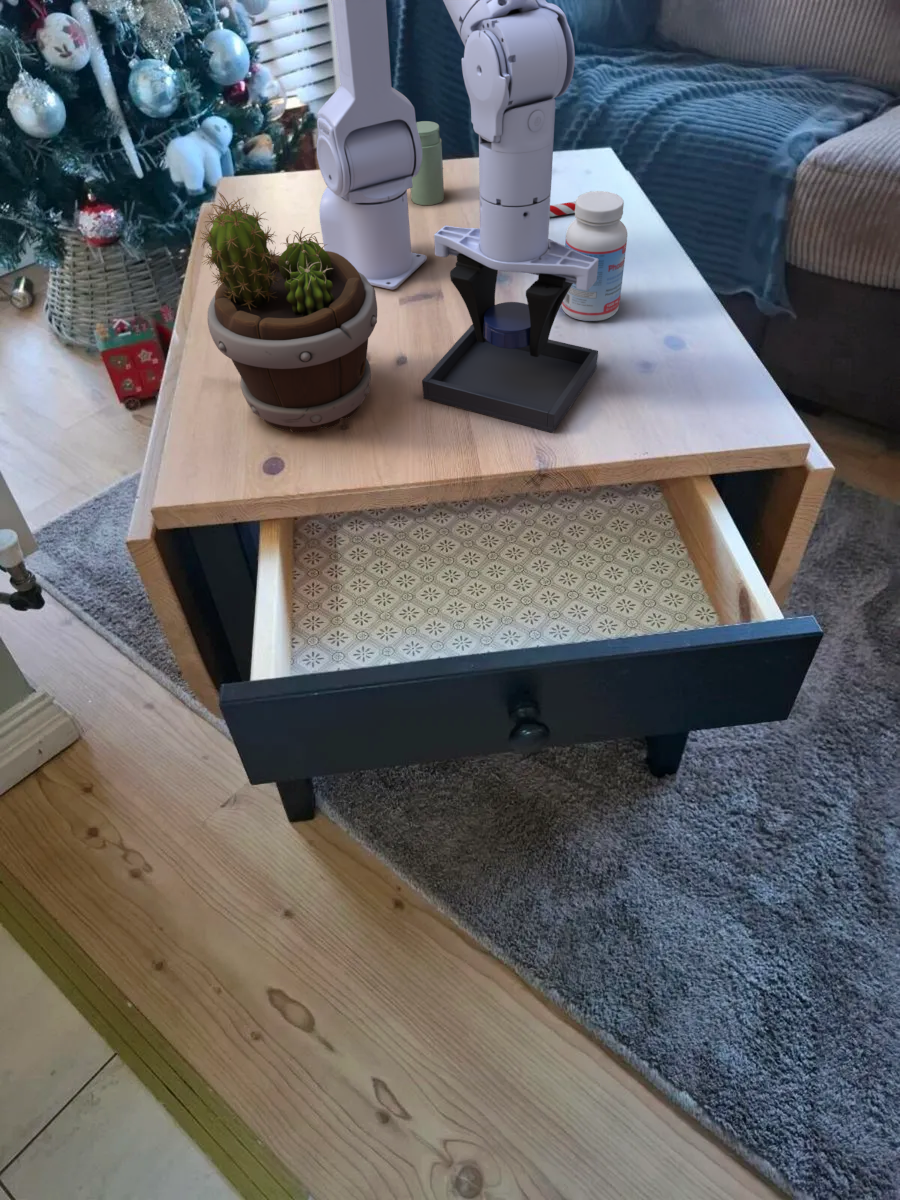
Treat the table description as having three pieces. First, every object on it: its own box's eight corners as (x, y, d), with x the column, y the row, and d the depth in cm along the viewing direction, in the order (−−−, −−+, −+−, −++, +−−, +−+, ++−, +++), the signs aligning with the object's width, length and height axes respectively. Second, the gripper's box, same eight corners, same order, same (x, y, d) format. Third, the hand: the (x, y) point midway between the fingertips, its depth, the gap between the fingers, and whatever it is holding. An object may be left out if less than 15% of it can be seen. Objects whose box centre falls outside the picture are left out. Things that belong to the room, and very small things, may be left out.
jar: (405, 202, 108) (400, 130, 102) (420, 189, 111) (415, 118, 104) (435, 207, 107) (431, 134, 101) (449, 194, 110) (446, 122, 103)
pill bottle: (616, 325, 86) (630, 216, 78) (557, 321, 87) (564, 212, 79) (620, 296, 90) (633, 189, 82) (564, 292, 91) (571, 186, 83)
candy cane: (613, 206, 102) (490, 210, 103) (612, 217, 103) (490, 221, 104) (606, 180, 107) (489, 184, 108) (605, 190, 108) (489, 194, 109)
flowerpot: (379, 350, 85) (356, 138, 70) (394, 442, 75) (370, 216, 60) (235, 366, 84) (180, 154, 69) (230, 461, 74) (164, 237, 59)
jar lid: (500, 354, 74) (500, 336, 73) (474, 328, 77) (473, 310, 76) (549, 339, 75) (550, 321, 74) (521, 314, 78) (522, 296, 77)
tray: (423, 398, 79) (421, 380, 78) (474, 339, 86) (474, 322, 84) (553, 433, 75) (554, 414, 73) (596, 368, 81) (598, 350, 80)
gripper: (619, 188, 67) (602, 341, 77) (460, 159, 72) (464, 306, 82) (583, 224, 63) (570, 380, 73) (417, 190, 68) (427, 341, 78)
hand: (512, 344), depth 77 cm, fingers closed on jar lid, 5 cm apart
